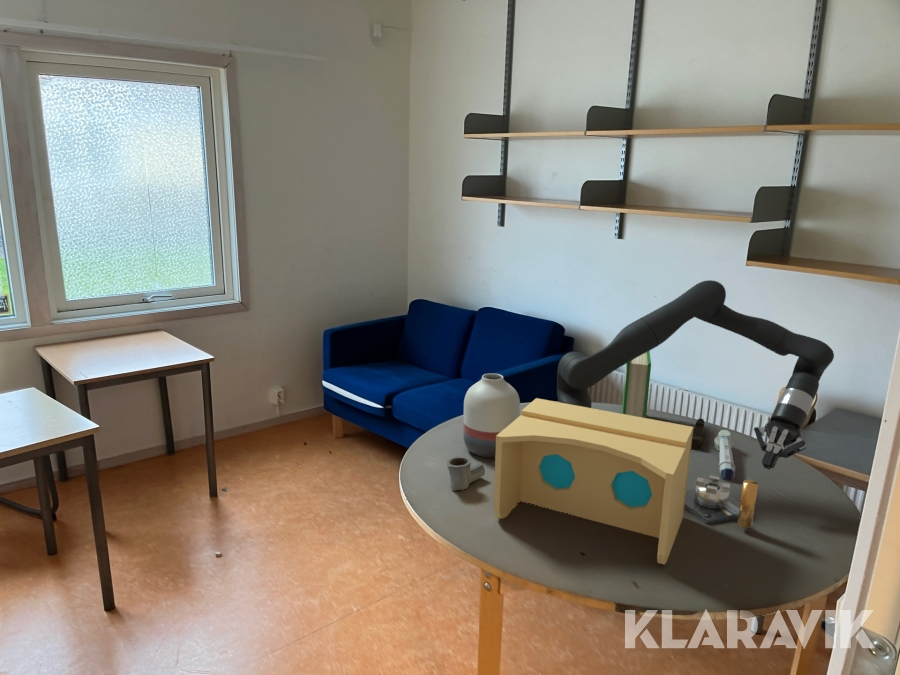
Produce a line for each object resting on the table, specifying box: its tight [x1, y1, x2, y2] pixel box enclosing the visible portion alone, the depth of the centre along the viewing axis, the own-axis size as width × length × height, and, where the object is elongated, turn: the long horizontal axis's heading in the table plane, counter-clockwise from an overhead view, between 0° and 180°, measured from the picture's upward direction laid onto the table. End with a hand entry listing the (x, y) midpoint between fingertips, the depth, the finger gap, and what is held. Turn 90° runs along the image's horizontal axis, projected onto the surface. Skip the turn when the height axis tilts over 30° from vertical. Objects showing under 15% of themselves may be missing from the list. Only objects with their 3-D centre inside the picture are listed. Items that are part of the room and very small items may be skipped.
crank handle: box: [694, 474, 759, 529], centre depth 160 cm, size 18×8×11 cm, turn 18°
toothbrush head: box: [714, 429, 736, 481], centre depth 192 cm, size 5×7×25 cm
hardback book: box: [621, 350, 652, 418], centre depth 218 cm, size 18×7×24 cm, turn 165°
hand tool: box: [691, 418, 705, 451], centre depth 208 cm, size 19×4×5 cm, turn 152°
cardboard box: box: [493, 397, 694, 565], centre depth 156 cm, size 40×26×24 cm, turn 62°
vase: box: [462, 372, 521, 459], centre depth 195 cm, size 17×17×24 cm
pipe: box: [446, 456, 486, 491], centre depth 175 cm, size 6×13×8 cm, turn 136°
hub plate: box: [684, 488, 741, 525], centre depth 166 cm, size 14×14×2 cm
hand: (766, 467), depth 162 cm, fingers closed
